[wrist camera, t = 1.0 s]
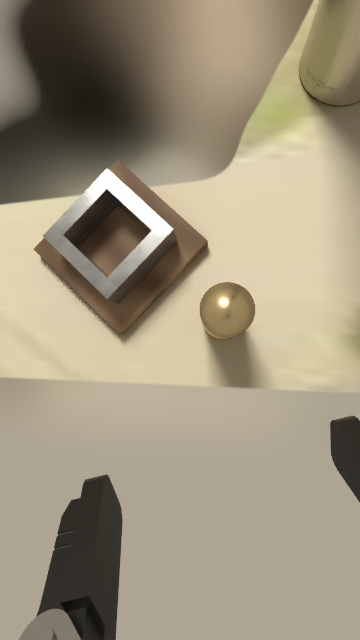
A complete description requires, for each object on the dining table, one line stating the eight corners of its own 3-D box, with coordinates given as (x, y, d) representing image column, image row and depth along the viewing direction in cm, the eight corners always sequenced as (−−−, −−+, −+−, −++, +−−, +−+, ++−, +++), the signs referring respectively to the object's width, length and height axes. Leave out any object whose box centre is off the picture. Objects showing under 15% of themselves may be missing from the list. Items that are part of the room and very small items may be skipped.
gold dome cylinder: (221, 291, 36) (226, 271, 26) (250, 318, 35) (266, 308, 26) (194, 320, 36) (188, 310, 26) (223, 347, 36) (228, 348, 26)
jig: (121, 167, 38) (106, 137, 33) (207, 245, 37) (207, 227, 31) (40, 252, 38) (12, 237, 33) (122, 334, 37) (107, 332, 31)
